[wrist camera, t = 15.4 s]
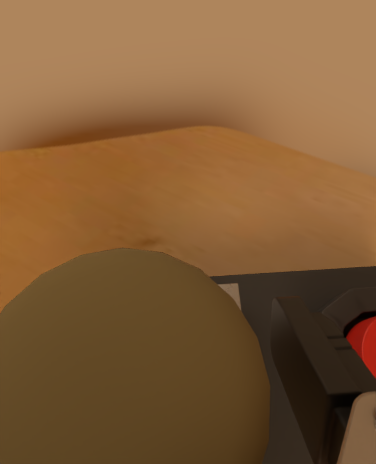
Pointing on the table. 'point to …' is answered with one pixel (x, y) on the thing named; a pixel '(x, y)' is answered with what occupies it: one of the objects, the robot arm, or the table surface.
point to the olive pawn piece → (130, 367)
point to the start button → (365, 342)
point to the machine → (317, 300)
